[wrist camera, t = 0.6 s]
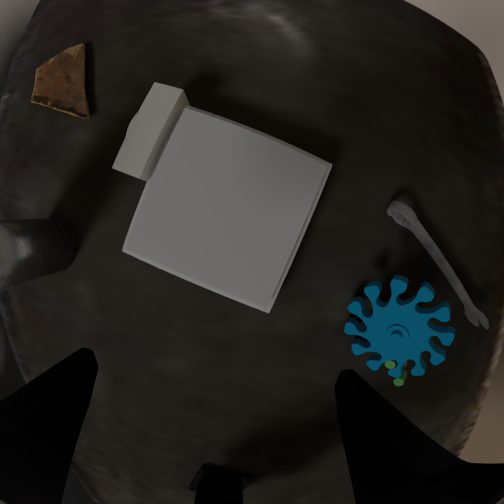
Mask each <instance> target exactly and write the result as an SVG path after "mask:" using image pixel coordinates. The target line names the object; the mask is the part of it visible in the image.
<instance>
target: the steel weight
mask: <svg viewBox="0 0 504 504" xmlns="http://www.w3.org/2000/svg"><path fill="white" fill-rule="evenodd" d="M76 250H77V242H76V236H75V233H74V231H73V229H72V227H71V226H70V224H69V223H68V222H67V221H65V220H63V219H61V218H42V219H15V220H0V291H3V290H6V289H9V288H12V287H15V286H17V285H20V284H23V283H26V282H29V281H32V280H35V279H38V278H41V277H44V276H47V275H50V274H53V273H56V272H59V271H62V270H65V269H67V268H68V267H69V266H70V265H71V264H72V262H73V261H74V258H75V255H76Z"/></svg>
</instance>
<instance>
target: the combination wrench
mask: <svg viewBox="0 0 504 504" xmlns="http://www.w3.org/2000/svg"><path fill="white" fill-rule="evenodd" d="M387 213H388V215H389V216H392V217H393V219H394V220H395V221H396V222H397V223H398V224H400V225H401V226H404V227H406V228H408V229H409V230H410V231H412V232H413V233H414V235H415V236H416V237H417V238H418V240H419V241H420V242H421V244H422V245H423V246H424V247H425V249H426V250H427V251H428V253H429V254H430V255H431V257H432V258H433V260H434V261H435V262H436V264H437V265H438V267H439V268H440V269H441V271H442V272H443V274H444V275H445V277H446V278H447V279H448V281H449V282H450V284H451V285H452V287H453V289H454V290H455V292H456V293H457V295H458V296H459V298H460V299H461V301H462V303H463V304H464V307H465V312H464V314H465V315H466V317H467V319H468V320H469V321H470V322H471V323H473V324H474V325H475V326H477V327H478V326H479V323H478V321H479V322H480V323H481V324H482V326H483V327H484V328H485V329H486V330H488V328H489V323H488V320H487V318H486V316H485V315H484V314H483V313H482V312H481V311H479V310H478V309H477V308H476V307H475V306H474V304H473V303H472V301H471V299H470V297H469V296H468V294H467V292H466V291H465V289H464V287H463V285H462V284H461V282H460V281H459V279H458V277H457V276H456V274H455V272H454V271H453V269H452V268H451V266H450V265H449V263H448V262H447V260H446V259H445V257H444V256H443V254H442V253H441V251H440V250H439V248H438V247H437V245H436V244H435V243H434V241H433V240H432V238H431V237H430V236H429V234H428V233H427V232H426V230H425V229H424V227H423V226H422V225H421V223H420V222H419V221H418V219H417V216H416V214H415V212H414V211H413V210H412V209H411V208H410V207H409V206H407V205H406V204H404V203H402V202H400V201H396V200H394V201H391V203H390V204H389V206H388V208H387Z"/></svg>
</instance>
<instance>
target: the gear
mask: <svg viewBox="0 0 504 504" xmlns="http://www.w3.org/2000/svg"><path fill="white" fill-rule="evenodd" d="M407 285H408V279H407V278H406V277H404V276H400V275H395V276H394V277H393V279H392V281H391V289H392V296H391V299H390V300H389V301H388V302H382V301H380V299H379V294H380V292H381V290H382V284H381V282H380V281H374V282H370V283H368V284H367V285H366V286H365V288H364V292H365V294H366V296H367V297H368V298H369V299H370V301H371V303H372V306H373V313H370V312H367V311H366V309H365V303H364V300H363V299H362V298H361V297H360V296H358V297H356V298H355V299H354V300H353V301H352V302H351V303H350V305H349V306H348V307H347V308H348V310H349V311H350V312H351V313H353V314H355V315H357V316H359V317H360V318H361V319H362V320H363V321H364V323H365V324H366V326H367V327H366V328H365V327H362V326H361V325H360V323H359V322H358V320H357V319H355V318H350V319H349V321H348V322H347V323H346V325H345V331H344V332H345V333H347V334H349V335H359V336H362V337H364V338H365V339H367V340H368V341H369V342H370V343H367V342H365V341H364V340H362V339H355V340H354V342H353V343H352V350H353V353H354V354H355V355H360V354H362V353H364V352H377V353H380V354H381V355H371V356H370V358H369V359H368V361H367V365H368V366H369V367H370V368H371V369H372V370H373V371H375V370H377V369H378V368H379V366H380V365H381V364H382V363H384V362H385V361H386V362H385V366H386V367H387V368H389V371H388V374H389V375H390V376H392V377H395V379H394V384H395V385H396V386H402V385H403V384H404V381H405V378H406V376H407V372H406V371H405V370H403V368H405V367H406V365H407V362H408V359H412V360H414V361H415V363H414V364H413V367H412V370H411V373H412V375H414V376H419V375H424V373H425V369H426V364H425V362H424V361H423V359H422V356H421V352H423V351H429V352H430V353H431V363H432V364H433V365H438V364H440V363H441V362H442V361H444V360H445V355H446V352H445V350H444V349H442V348H439V347H438V346H436V345H435V344H434V343H433V341H432V339H431V336H438V337H439V338H440V340H441V342H442V344H443V345H446V346H449V345H450V344H451V343H452V341H453V338H454V335H455V329H454V328H453V327H440V326H437V325H435V324H433V323H432V322H430V321H429V319H430V318H433V317H434V318H437V319H438V320H440V321H442V322H447V321H449V320H450V312H451V311H450V305H449V302H442V303H441V304H439V305H438V306H436V307H433V308H420V307H418V305H417V303H418V302H429V301H431V300H432V299H433V297H434V293H435V291H434V289H433V287H432V286H431V285H430V284H429V283H428V282H427V281H426V282H423V283H422V284H421V285H420V288H419V290H418V292H417V293H416V295H414V296H413V297H412V298H410V299H406V300H405V301H404V300H401V299H400V298H399V297H398V295H399V294H401V293H403V292H404V291H405V290H406V288H407Z"/></svg>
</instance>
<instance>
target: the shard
mask: <svg viewBox="0 0 504 504" xmlns="http://www.w3.org/2000/svg"><path fill="white" fill-rule="evenodd" d="M84 62H85V45H84V44H79V45H76V46H74V47H71V48H68V49H66V50H65V51H63V52H61V53H59V54H58V55H57V56H55V57H53V58H51V59H50V60H49V61H47V62H45V63H44V64H42V65H41V66H39V67H38V69H37V70H36V77H35V86H34V90H33V95H32V97H31V99H30V101H31V102H32V103H38V104H41V105H43V106H48V107H51V108H54V109H55V110H59V111H62V112H66V113H68V114H71V115H73V116H77V117H81V118H84V119H87V118H90V114H89V106H88V102H87V99H86V94H85V73H84V72H85V64H84Z"/></svg>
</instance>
